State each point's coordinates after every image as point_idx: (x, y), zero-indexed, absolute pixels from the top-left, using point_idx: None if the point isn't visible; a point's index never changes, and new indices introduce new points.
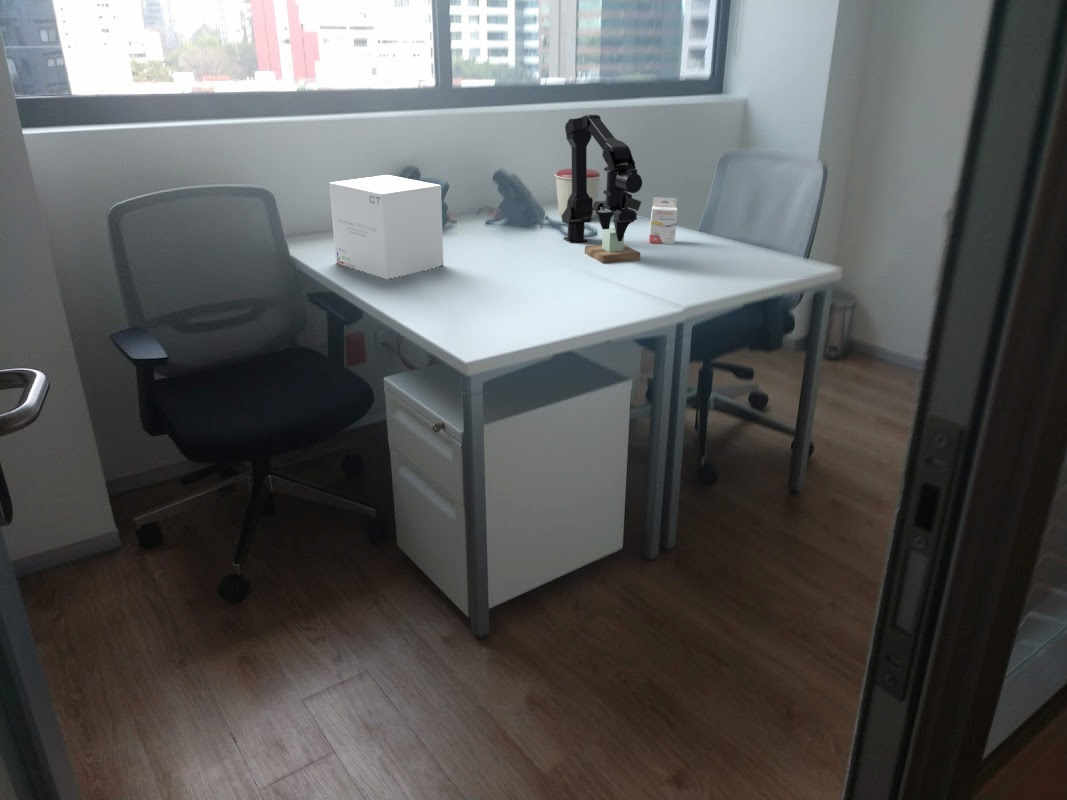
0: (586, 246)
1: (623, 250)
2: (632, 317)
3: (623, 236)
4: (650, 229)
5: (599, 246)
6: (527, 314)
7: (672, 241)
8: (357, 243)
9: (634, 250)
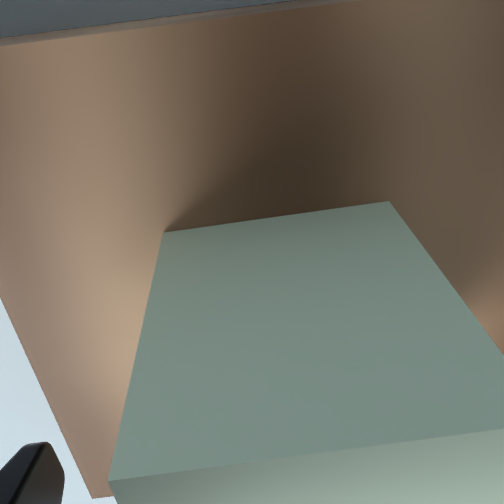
0: (110, 492)
1: (390, 196)
2: None
3: (488, 345)
4: None
5: (120, 395)
6: None
7: None
8: None
9: (454, 19)
